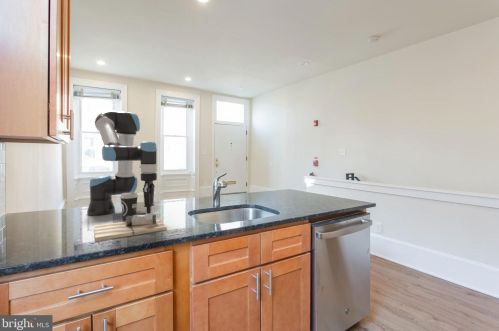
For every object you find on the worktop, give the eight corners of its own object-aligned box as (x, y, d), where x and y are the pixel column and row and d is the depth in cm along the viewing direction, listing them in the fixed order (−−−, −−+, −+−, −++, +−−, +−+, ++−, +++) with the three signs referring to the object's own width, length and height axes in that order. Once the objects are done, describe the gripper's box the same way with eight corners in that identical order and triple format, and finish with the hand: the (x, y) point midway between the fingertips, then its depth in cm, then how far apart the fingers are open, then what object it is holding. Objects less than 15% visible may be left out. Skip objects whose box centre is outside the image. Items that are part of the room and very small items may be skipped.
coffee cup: (131, 222, 134) (130, 195, 134) (116, 221, 136) (115, 194, 136) (142, 217, 144) (141, 192, 143) (127, 216, 146) (127, 191, 145)
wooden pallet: (94, 228, 122) (94, 215, 122) (157, 220, 139) (157, 208, 138) (95, 241, 105) (94, 226, 104) (166, 229, 121) (166, 216, 121)
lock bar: (125, 226, 121) (125, 217, 120) (126, 224, 124) (126, 215, 124) (155, 223, 126) (155, 214, 125) (155, 222, 129) (155, 213, 129)
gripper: (144, 171, 129) (145, 216, 130) (136, 173, 116) (137, 222, 117) (159, 171, 130) (160, 215, 131) (153, 173, 117) (153, 222, 118)
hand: (149, 219), depth 124 cm, fingers closed
